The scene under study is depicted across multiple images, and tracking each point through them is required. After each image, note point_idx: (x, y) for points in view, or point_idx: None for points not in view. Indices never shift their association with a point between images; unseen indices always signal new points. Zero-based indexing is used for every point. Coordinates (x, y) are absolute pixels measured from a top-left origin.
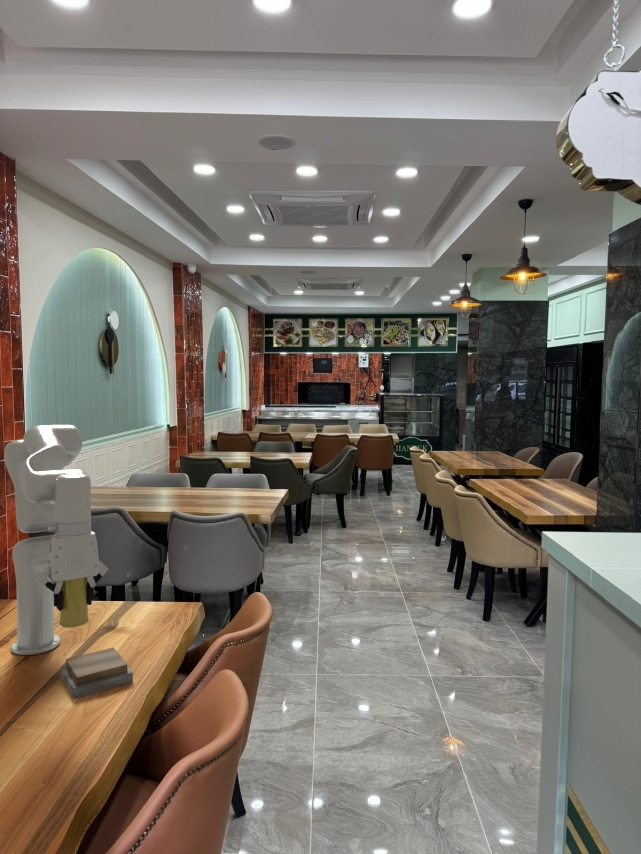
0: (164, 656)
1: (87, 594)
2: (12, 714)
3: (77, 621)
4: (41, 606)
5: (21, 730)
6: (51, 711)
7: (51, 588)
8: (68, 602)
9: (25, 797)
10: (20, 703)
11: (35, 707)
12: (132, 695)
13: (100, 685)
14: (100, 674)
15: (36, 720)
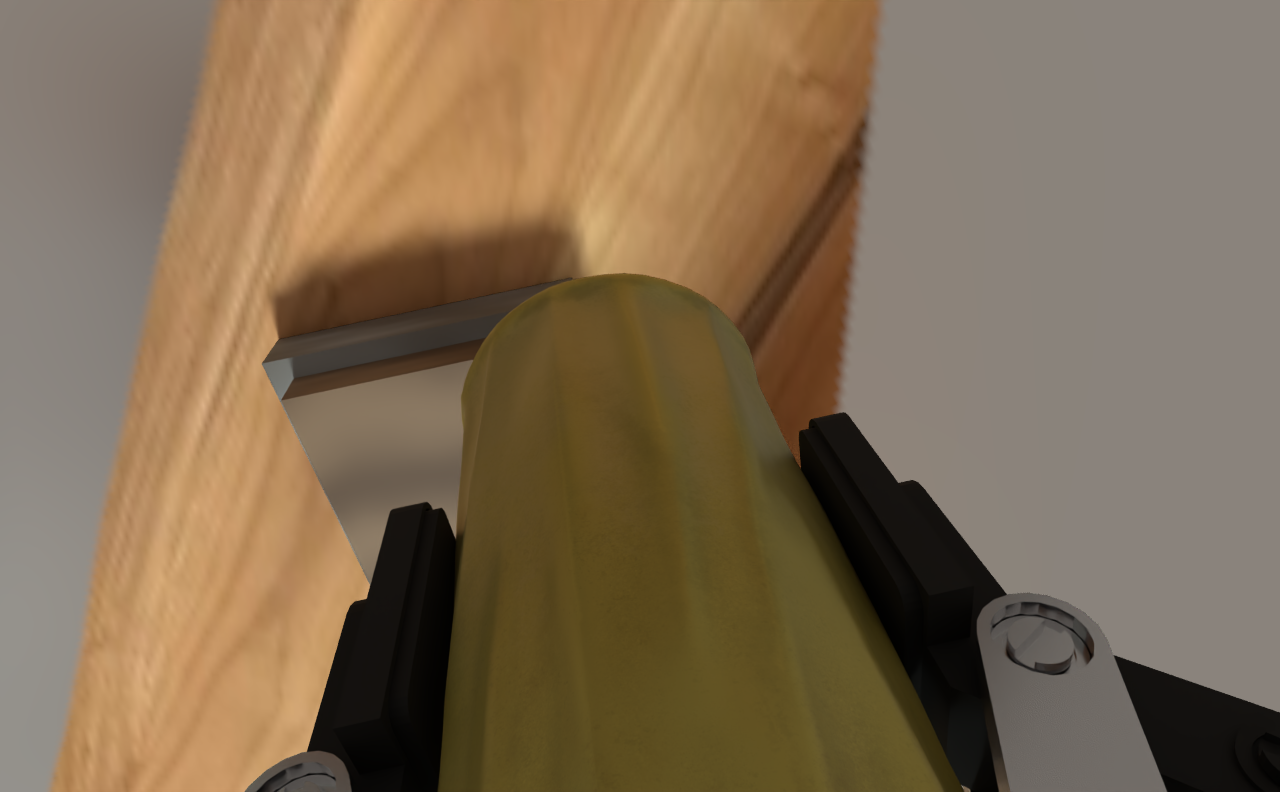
0: (129, 543)
1: (438, 648)
2: (836, 240)
3: (585, 308)
4: None
5: (816, 63)
6: (676, 196)
7: (1172, 706)
8: (753, 458)
9: None
10: (797, 326)
11: (741, 265)
12: (266, 194)
13: (441, 316)
14: (437, 360)
15: (746, 135)
